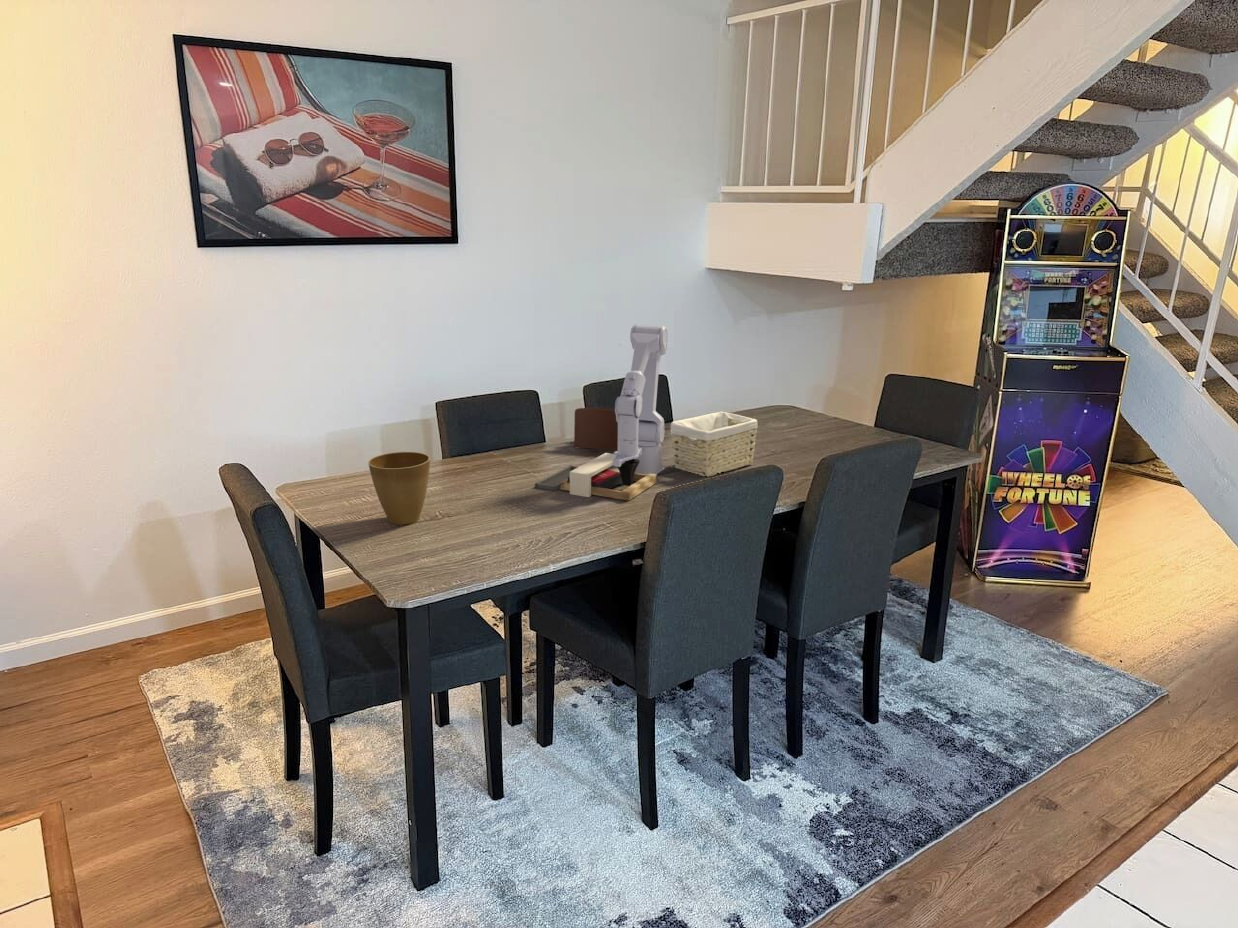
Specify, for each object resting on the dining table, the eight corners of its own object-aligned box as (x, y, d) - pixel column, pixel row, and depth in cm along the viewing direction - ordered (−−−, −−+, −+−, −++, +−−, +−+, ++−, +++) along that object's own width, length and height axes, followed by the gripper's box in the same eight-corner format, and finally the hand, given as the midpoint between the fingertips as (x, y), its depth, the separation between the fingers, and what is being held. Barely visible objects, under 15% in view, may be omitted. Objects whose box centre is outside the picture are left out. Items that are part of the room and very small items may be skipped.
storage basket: (705, 480, 258) (707, 431, 253) (666, 467, 269) (667, 421, 265) (758, 465, 273) (760, 419, 269) (719, 454, 285) (721, 410, 280)
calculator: (566, 474, 247) (599, 460, 259) (567, 489, 249) (599, 474, 260) (597, 482, 241) (629, 467, 252) (597, 496, 242) (629, 481, 254)
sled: (591, 472, 262) (591, 464, 261) (656, 482, 253) (656, 474, 252) (560, 489, 246) (560, 480, 245) (629, 500, 237) (629, 491, 237)
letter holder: (631, 452, 286) (632, 410, 282) (573, 448, 291) (573, 406, 287) (639, 445, 295) (639, 404, 291) (582, 440, 300) (582, 400, 296)
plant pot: (408, 506, 231) (405, 448, 227) (445, 519, 222) (442, 458, 218) (360, 521, 220) (355, 460, 216) (397, 534, 211) (392, 471, 207)
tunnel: (571, 468, 267) (571, 448, 265) (623, 476, 259) (623, 455, 258) (533, 488, 248) (533, 466, 246) (588, 497, 240) (588, 474, 239)
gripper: (626, 431, 251) (625, 476, 255) (603, 442, 239) (602, 489, 242) (648, 433, 248) (647, 479, 252) (626, 445, 236) (625, 493, 239)
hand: (627, 485), depth 247 cm, fingers closed
